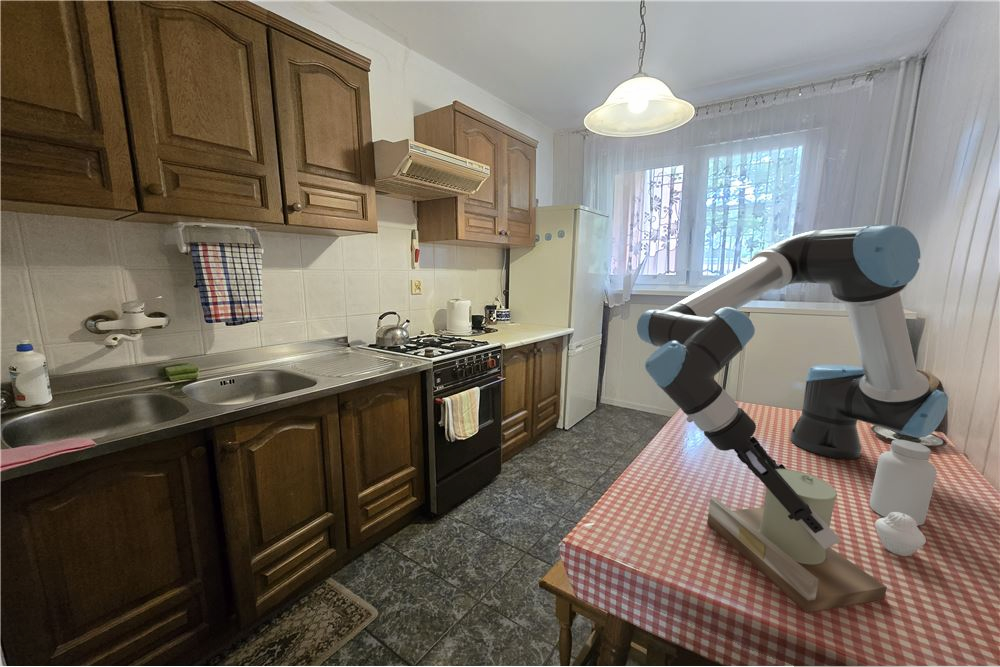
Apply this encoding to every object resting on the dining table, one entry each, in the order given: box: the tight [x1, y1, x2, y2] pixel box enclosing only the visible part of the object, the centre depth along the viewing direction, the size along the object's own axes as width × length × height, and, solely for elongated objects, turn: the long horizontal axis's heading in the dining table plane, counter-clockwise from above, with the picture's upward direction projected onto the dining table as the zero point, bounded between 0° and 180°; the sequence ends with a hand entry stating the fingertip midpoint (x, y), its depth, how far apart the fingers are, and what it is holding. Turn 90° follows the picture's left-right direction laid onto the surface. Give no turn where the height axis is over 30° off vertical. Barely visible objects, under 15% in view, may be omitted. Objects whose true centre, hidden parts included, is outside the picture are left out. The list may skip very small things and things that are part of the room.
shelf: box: [707, 497, 888, 614], centre depth 66 cm, size 14×20×5 cm
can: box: [759, 468, 838, 565], centre depth 65 cm, size 9×9×12 cm
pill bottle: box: [869, 439, 937, 527], centre depth 77 cm, size 8×8×15 cm
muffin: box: [874, 512, 927, 557], centre depth 67 cm, size 6×6×7 cm
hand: (817, 523), depth 64 cm, fingers open, 9 cm apart
